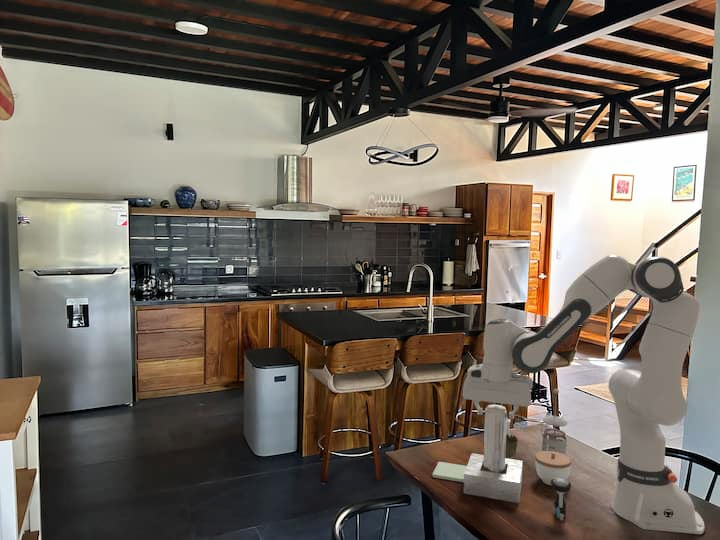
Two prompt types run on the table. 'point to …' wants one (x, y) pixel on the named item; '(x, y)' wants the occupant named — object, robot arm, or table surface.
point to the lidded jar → (552, 465)
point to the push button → (560, 495)
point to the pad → (449, 471)
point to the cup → (510, 446)
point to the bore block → (493, 480)
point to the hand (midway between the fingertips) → (495, 416)
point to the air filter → (495, 439)
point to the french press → (554, 433)
